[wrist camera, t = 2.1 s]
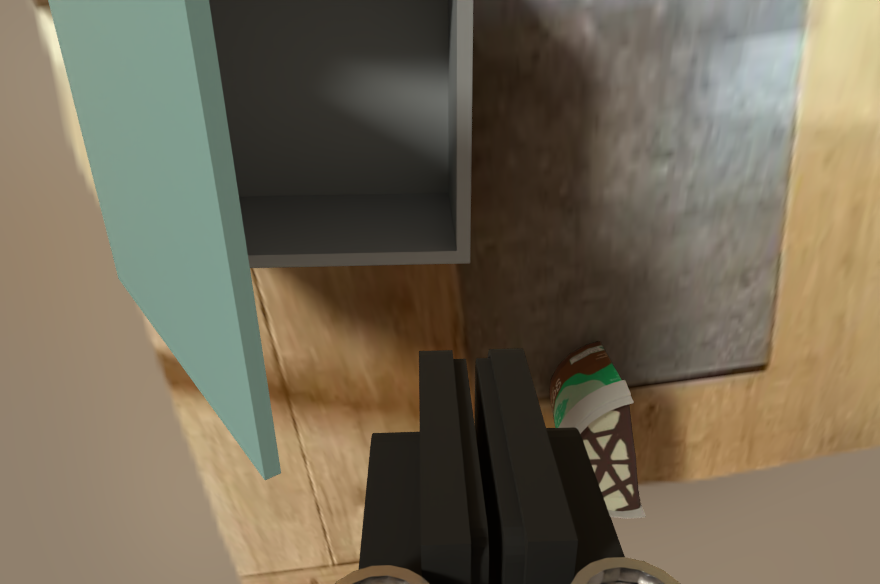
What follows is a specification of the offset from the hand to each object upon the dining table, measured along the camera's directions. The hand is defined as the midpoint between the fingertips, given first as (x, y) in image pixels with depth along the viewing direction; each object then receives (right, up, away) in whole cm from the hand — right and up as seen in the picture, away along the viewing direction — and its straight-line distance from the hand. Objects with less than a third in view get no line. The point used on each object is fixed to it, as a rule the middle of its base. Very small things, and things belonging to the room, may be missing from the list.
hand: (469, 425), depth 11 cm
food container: (+11, -7, +47) cm, 49 cm away
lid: (-13, +8, +16) cm, 22 cm away
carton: (-9, +17, +34) cm, 40 cm away
